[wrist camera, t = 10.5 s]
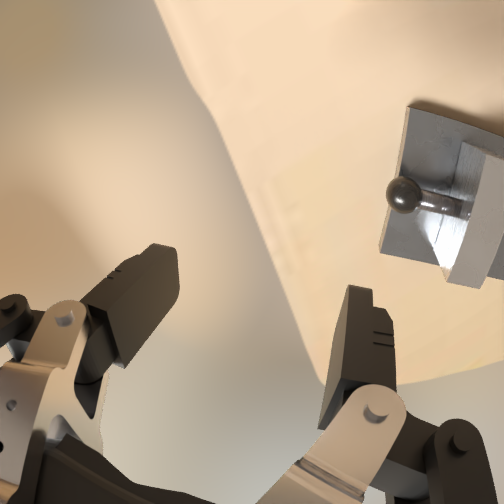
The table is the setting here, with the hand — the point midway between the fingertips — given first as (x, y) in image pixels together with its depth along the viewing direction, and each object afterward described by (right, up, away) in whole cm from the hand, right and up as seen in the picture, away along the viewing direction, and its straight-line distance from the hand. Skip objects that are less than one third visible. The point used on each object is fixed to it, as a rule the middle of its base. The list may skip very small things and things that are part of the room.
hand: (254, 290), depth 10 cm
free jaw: (+14, +6, +11) cm, 19 cm away
